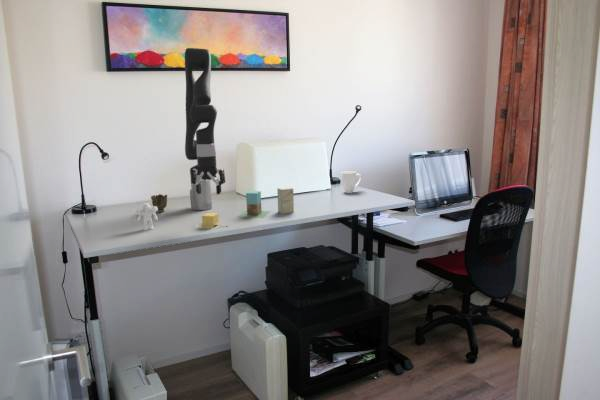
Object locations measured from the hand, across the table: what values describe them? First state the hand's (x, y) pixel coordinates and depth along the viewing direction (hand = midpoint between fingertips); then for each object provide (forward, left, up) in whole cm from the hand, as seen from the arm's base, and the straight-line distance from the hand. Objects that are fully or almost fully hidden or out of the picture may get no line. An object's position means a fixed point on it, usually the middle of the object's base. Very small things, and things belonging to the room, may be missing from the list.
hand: (209, 193), depth 196 cm
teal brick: (+13, +18, -8) cm, 23 cm away
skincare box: (+26, +24, -14) cm, 38 cm away
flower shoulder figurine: (-24, -9, -14) cm, 29 cm away
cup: (-35, +19, -14) cm, 42 cm away
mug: (+48, +78, -14) cm, 93 cm away
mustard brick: (0, 0, -14) cm, 14 cm away
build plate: (+13, +18, -14) cm, 26 cm away
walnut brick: (+13, +18, -13) cm, 25 cm away
